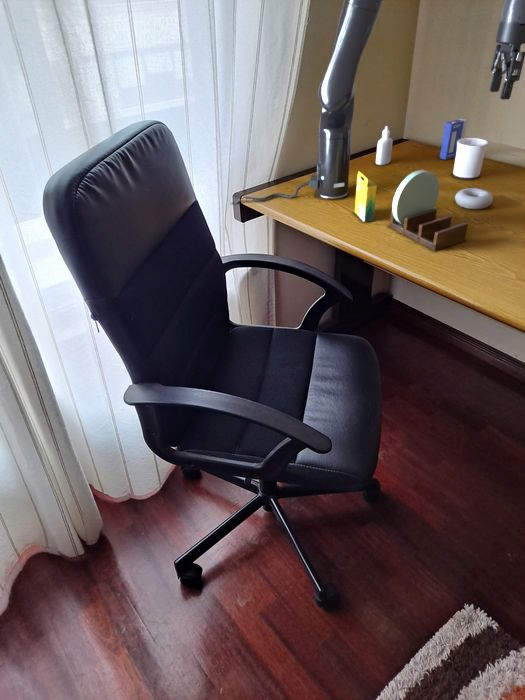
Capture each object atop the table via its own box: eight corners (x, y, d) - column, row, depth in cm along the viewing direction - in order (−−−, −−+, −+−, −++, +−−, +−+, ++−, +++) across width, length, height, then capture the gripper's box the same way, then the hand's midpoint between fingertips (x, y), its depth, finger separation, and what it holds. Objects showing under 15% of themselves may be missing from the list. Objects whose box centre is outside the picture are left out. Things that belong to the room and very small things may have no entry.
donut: (496, 202, 141) (462, 195, 146) (499, 190, 139) (464, 183, 144) (483, 214, 135) (448, 206, 140) (486, 202, 133) (450, 194, 138)
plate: (388, 231, 129) (395, 176, 120) (429, 219, 134) (438, 164, 125) (393, 234, 128) (400, 178, 119) (434, 221, 133) (443, 166, 124)
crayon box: (374, 221, 135) (378, 178, 128) (363, 222, 135) (367, 179, 127) (364, 210, 141) (367, 169, 133) (354, 212, 140) (357, 170, 133)
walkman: (445, 159, 172) (452, 122, 164) (439, 158, 173) (445, 121, 166) (461, 155, 175) (468, 118, 167) (455, 153, 176) (461, 117, 169)
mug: (483, 180, 155) (490, 146, 148) (453, 180, 156) (459, 146, 150) (476, 168, 163) (483, 135, 157) (448, 168, 165) (454, 136, 158)
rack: (389, 227, 132) (391, 210, 129) (417, 218, 135) (420, 202, 132) (434, 250, 120) (437, 233, 117) (464, 240, 123) (468, 223, 121)
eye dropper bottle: (373, 161, 173) (376, 125, 166) (388, 160, 174) (392, 123, 166) (377, 165, 170) (380, 128, 163) (393, 164, 171) (397, 127, 163)
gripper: (491, 16, 122) (476, 89, 132) (511, 22, 111) (492, 102, 121) (523, 15, 121) (505, 89, 131) (545, 21, 110) (524, 101, 120)
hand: (499, 95), depth 126 cm, fingers open, 8 cm apart
